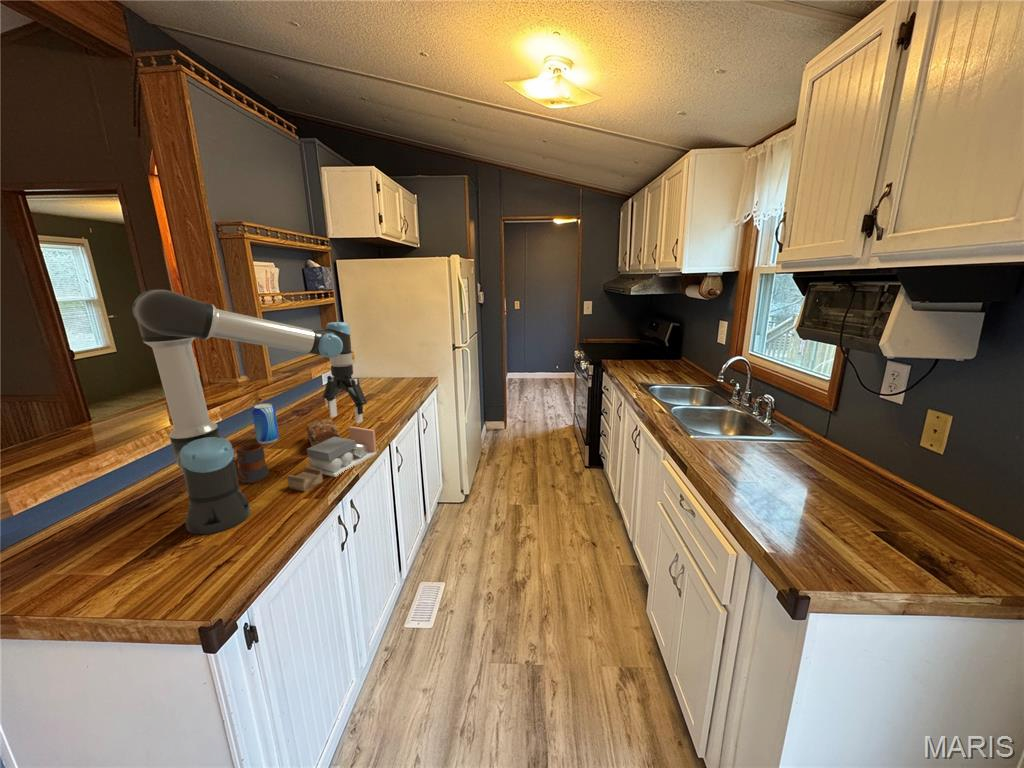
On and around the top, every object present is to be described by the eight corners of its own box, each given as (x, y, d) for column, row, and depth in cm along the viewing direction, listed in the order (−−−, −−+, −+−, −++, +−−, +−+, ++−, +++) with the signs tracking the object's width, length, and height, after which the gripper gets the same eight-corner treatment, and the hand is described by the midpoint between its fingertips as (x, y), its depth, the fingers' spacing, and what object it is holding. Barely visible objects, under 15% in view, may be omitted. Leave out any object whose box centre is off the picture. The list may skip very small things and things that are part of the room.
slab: (307, 456, 145) (306, 448, 144) (335, 443, 157) (334, 436, 156) (329, 461, 142) (328, 453, 141) (355, 447, 153) (355, 440, 153)
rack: (304, 491, 133) (303, 479, 132) (289, 487, 136) (287, 475, 135) (322, 481, 140) (321, 469, 139) (307, 477, 143) (306, 466, 142)
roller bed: (308, 471, 147) (305, 446, 145) (353, 449, 168) (350, 426, 165) (334, 477, 143) (331, 451, 141) (376, 453, 164) (374, 430, 161)
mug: (225, 488, 135) (220, 455, 133) (252, 472, 147) (247, 441, 144) (249, 489, 134) (244, 457, 132) (274, 473, 146) (269, 443, 143)
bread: (341, 449, 167) (338, 426, 165) (312, 455, 162) (309, 431, 160) (333, 435, 183) (331, 414, 180) (307, 440, 177) (304, 418, 175)
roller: (338, 455, 159) (337, 443, 158) (348, 450, 163) (346, 439, 162) (359, 459, 155) (358, 447, 154) (368, 454, 160) (367, 443, 159)
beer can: (252, 442, 174) (247, 406, 170) (271, 436, 181) (266, 401, 177) (264, 446, 170) (259, 409, 166) (283, 439, 177) (278, 404, 173)
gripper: (374, 366, 147) (378, 421, 152) (326, 359, 158) (331, 411, 163) (358, 369, 141) (362, 427, 146) (309, 362, 152) (315, 417, 157)
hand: (346, 419), depth 154 cm, fingers open, 13 cm apart
